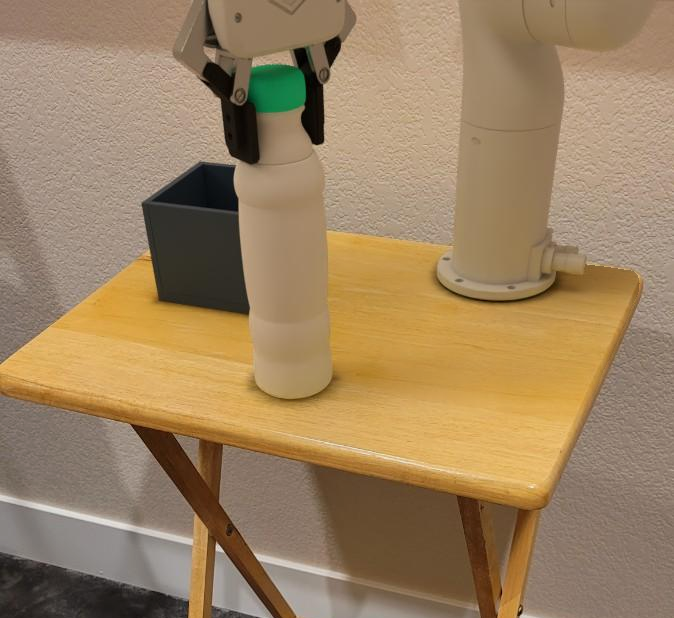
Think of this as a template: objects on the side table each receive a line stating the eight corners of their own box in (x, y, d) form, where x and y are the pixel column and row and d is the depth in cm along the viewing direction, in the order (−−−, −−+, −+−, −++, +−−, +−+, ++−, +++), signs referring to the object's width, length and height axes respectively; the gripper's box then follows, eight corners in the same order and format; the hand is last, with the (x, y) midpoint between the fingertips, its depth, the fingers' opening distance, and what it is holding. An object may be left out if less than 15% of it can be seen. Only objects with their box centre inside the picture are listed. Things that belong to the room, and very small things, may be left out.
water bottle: (323, 405, 77) (308, 84, 60) (246, 399, 78) (209, 81, 61) (339, 365, 82) (330, 57, 65) (266, 359, 83) (237, 56, 66)
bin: (311, 267, 98) (306, 172, 91) (265, 317, 89) (256, 216, 82) (212, 253, 101) (199, 161, 94) (158, 300, 93) (140, 202, 86)
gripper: (164, -155, 48) (208, 192, 60) (399, -178, 55) (395, 135, 68) (99, -160, 52) (153, 165, 65) (325, -180, 60) (334, 115, 72)
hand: (277, 147), depth 66 cm, fingers closed on water bottle, 5 cm apart
